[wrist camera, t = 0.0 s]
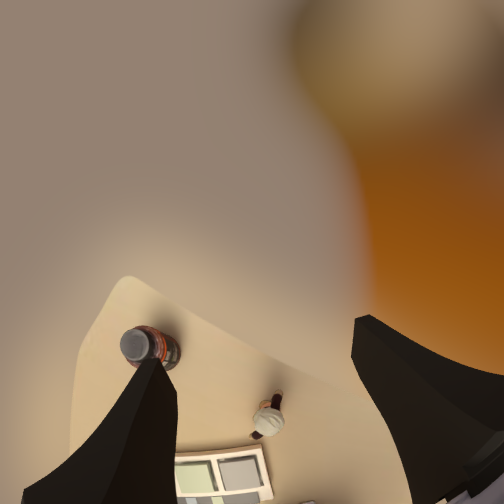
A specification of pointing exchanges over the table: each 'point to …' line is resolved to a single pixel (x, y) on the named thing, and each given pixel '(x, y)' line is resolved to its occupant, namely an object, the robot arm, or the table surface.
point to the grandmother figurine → (268, 418)
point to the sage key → (195, 478)
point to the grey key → (240, 474)
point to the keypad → (222, 500)
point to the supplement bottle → (149, 347)
